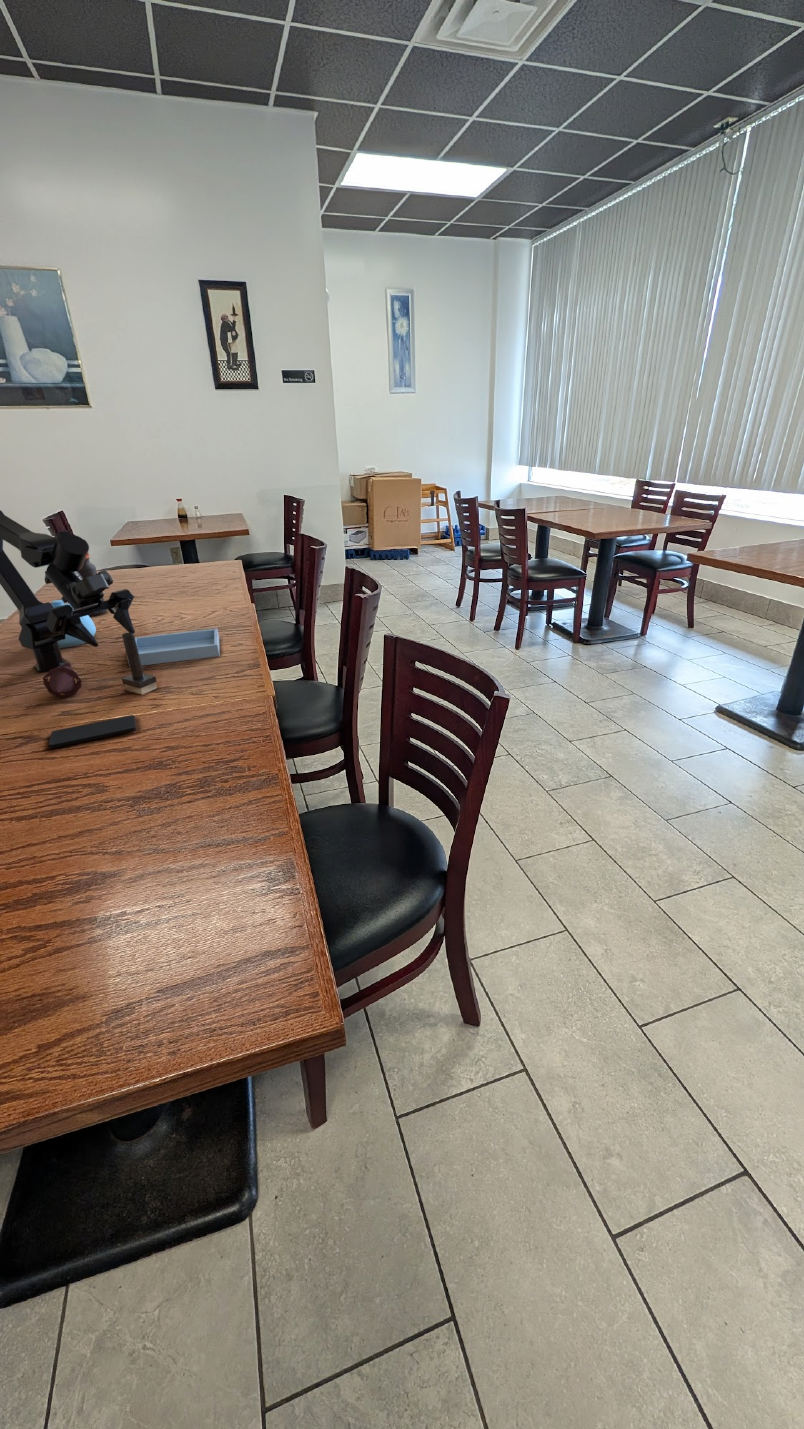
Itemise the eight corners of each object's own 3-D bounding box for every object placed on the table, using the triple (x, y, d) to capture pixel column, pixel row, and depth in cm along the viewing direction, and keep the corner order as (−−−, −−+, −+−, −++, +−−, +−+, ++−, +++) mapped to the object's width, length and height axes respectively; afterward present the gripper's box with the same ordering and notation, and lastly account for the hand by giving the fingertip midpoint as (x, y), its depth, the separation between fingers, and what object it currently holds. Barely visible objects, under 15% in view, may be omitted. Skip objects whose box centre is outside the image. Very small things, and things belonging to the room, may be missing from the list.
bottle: (79, 616, 189) (61, 553, 180) (93, 610, 195) (76, 549, 186) (98, 616, 188) (81, 553, 179) (111, 610, 194) (95, 549, 185)
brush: (124, 690, 132) (109, 635, 126) (141, 683, 135) (127, 629, 129) (142, 695, 129) (128, 639, 123) (158, 688, 132) (145, 633, 127)
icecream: (77, 677, 123) (86, 659, 136) (36, 673, 120) (50, 656, 133) (76, 708, 124) (86, 688, 138) (36, 706, 122) (49, 686, 135)
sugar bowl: (108, 637, 168) (98, 597, 163) (57, 653, 156) (44, 611, 151) (79, 630, 175) (68, 591, 170) (28, 644, 164) (14, 604, 159)
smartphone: (50, 731, 112) (134, 714, 118) (51, 734, 113) (135, 718, 118) (47, 746, 107) (136, 727, 112) (49, 750, 107) (137, 731, 113)
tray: (129, 667, 145) (126, 655, 144) (136, 648, 158) (133, 637, 156) (219, 656, 150) (217, 644, 149) (219, 639, 163) (217, 628, 161)
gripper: (37, 569, 117) (86, 629, 117) (118, 553, 132) (162, 606, 131) (27, 604, 124) (73, 660, 124) (105, 584, 139) (146, 635, 138)
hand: (115, 639), depth 129 cm, fingers open, 9 cm apart
